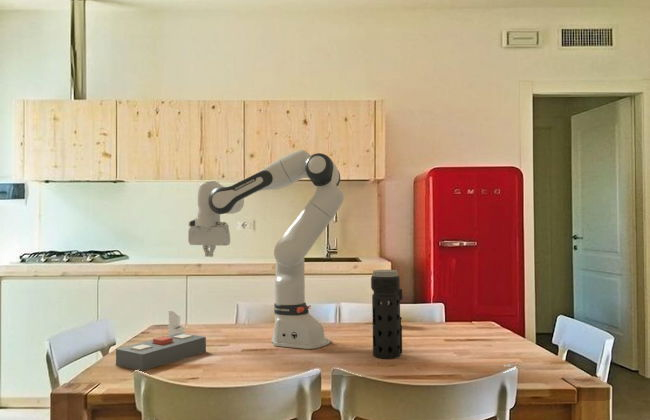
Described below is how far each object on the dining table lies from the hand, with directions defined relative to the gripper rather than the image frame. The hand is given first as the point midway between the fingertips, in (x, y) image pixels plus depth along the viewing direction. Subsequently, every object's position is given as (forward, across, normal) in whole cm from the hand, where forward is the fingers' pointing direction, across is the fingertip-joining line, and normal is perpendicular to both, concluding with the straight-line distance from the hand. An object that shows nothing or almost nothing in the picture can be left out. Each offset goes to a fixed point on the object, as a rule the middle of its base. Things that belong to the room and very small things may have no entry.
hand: (209, 256), depth 198 cm
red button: (+30, -11, +32) cm, 45 cm away
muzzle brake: (+31, -74, -8) cm, 81 cm away
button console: (+31, -11, +32) cm, 46 cm away
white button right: (+31, -11, +23) cm, 40 cm away
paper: (+32, -107, -17) cm, 113 cm away
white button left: (+31, -11, +40) cm, 52 cm away
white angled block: (+31, +11, +7) cm, 34 cm away
